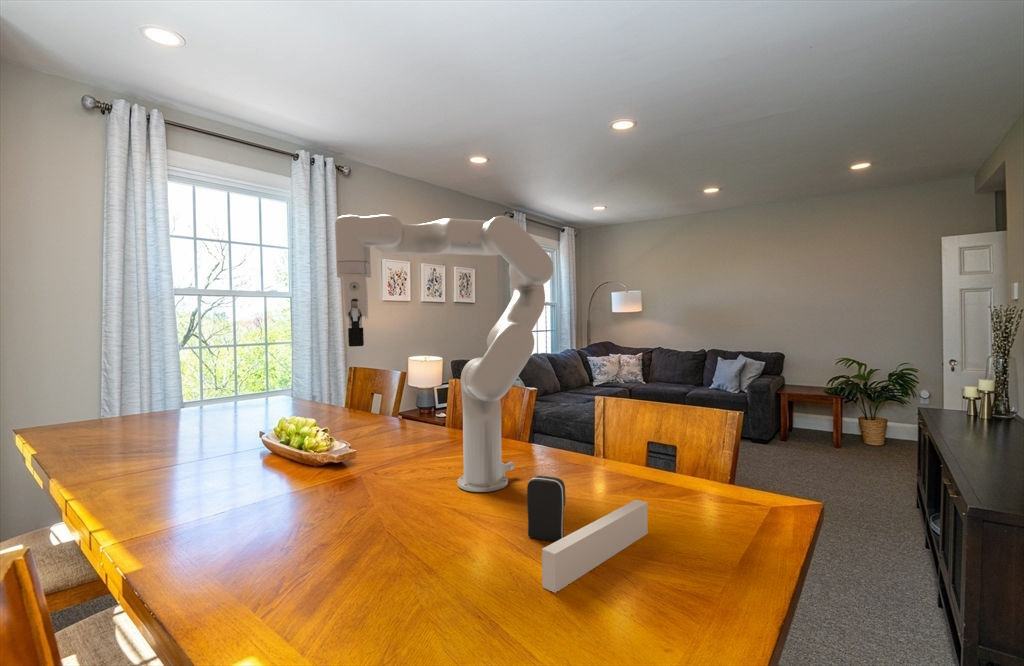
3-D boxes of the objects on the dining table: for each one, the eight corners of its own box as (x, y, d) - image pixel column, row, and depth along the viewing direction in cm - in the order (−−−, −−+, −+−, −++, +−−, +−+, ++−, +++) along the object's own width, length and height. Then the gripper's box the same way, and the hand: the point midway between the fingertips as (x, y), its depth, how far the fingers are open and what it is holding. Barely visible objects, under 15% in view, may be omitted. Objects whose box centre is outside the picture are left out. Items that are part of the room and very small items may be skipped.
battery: (567, 535, 95) (567, 476, 95) (561, 544, 92) (561, 482, 91) (533, 530, 98) (533, 472, 97) (526, 538, 94) (525, 478, 94)
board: (635, 529, 97) (635, 499, 97) (647, 533, 96) (647, 502, 95) (542, 587, 77) (542, 548, 77) (554, 593, 75) (554, 554, 75)
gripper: (371, 267, 108) (374, 346, 108) (370, 274, 124) (372, 342, 125) (334, 267, 106) (337, 347, 106) (338, 274, 122) (340, 343, 123)
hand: (356, 345), depth 115 cm, fingers open, 9 cm apart
